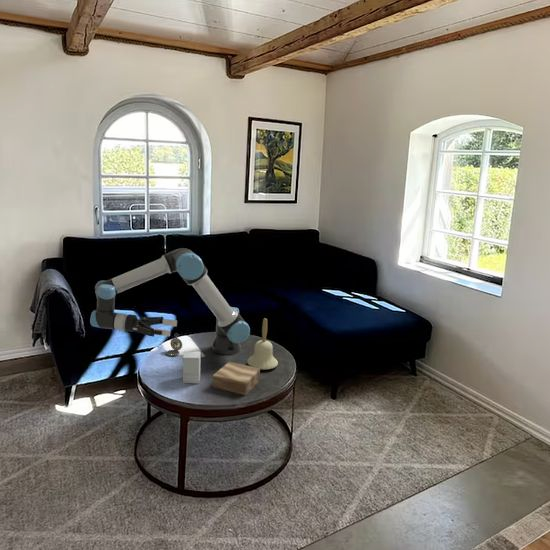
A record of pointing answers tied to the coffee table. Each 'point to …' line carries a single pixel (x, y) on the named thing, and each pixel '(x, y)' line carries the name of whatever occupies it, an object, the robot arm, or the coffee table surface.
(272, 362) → the handbell
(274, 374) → the coffee table surface
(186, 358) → the supplement box
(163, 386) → the coffee table surface
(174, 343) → the pocket watch
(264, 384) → the coffee table surface
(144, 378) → the coffee table surface
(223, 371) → the walnut stand
